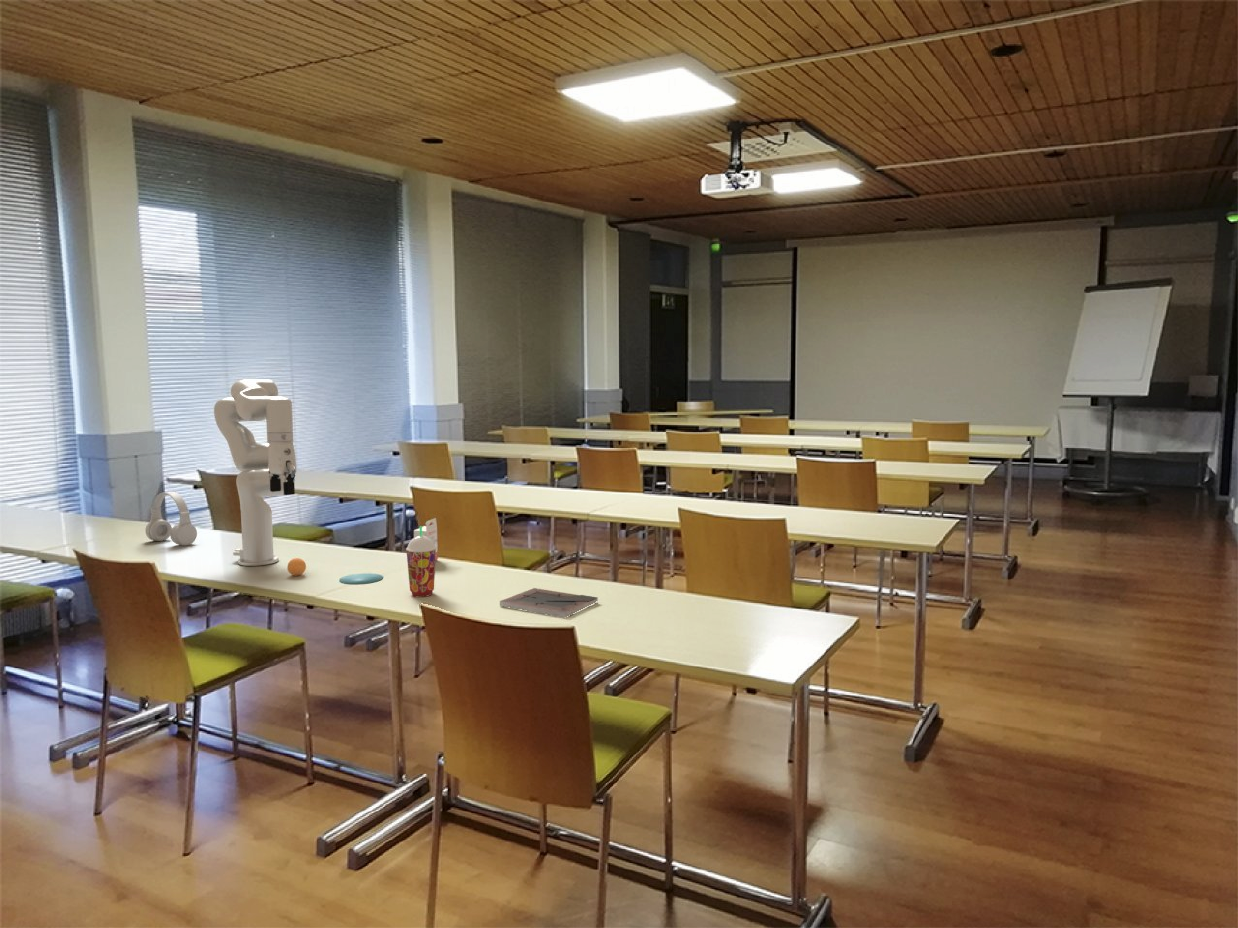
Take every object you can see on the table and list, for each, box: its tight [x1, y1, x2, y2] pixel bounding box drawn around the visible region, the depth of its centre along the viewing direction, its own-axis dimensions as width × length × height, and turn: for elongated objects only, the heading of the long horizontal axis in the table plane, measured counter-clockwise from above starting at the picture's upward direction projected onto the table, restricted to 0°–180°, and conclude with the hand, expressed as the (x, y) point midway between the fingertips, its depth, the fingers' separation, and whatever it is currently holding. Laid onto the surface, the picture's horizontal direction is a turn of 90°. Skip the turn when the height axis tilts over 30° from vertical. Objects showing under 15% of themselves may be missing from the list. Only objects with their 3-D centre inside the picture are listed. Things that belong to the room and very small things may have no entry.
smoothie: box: [405, 525, 436, 597], centre depth 244 cm, size 8×8×20 cm
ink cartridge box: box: [413, 517, 439, 562], centre depth 285 cm, size 9×5×15 cm, turn 168°
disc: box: [338, 572, 384, 585], centre depth 262 cm, size 13×13×1 cm
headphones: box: [145, 491, 198, 547], centre depth 315 cm, size 20×8×19 cm, turn 60°
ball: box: [287, 557, 307, 577], centre depth 266 cm, size 6×6×6 cm
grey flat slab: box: [499, 587, 599, 618], centre depth 234 cm, size 16×2×22 cm
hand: (282, 492), depth 262 cm, fingers open, 9 cm apart
